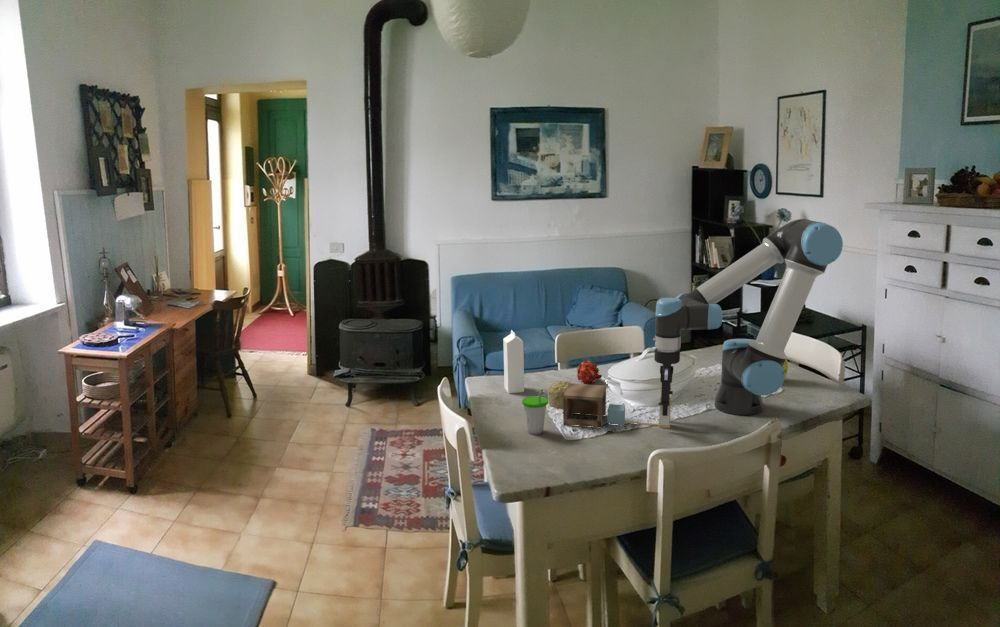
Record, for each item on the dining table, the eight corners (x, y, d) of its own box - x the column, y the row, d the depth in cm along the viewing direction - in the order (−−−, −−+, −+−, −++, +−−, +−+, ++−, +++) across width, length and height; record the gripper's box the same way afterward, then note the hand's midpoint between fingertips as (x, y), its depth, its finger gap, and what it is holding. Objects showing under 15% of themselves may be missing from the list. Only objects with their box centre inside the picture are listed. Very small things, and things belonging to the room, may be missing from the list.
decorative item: (562, 419, 234) (580, 397, 231) (539, 401, 234) (557, 379, 231) (565, 409, 243) (582, 388, 240) (543, 392, 243) (560, 371, 240)
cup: (522, 427, 219) (521, 381, 215) (547, 426, 218) (547, 381, 215) (522, 437, 211) (521, 390, 208) (548, 436, 211) (548, 389, 207)
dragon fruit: (585, 380, 266) (593, 394, 255) (568, 369, 263) (575, 384, 252) (599, 363, 264) (607, 377, 253) (582, 352, 261) (590, 366, 250)
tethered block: (670, 423, 219) (671, 393, 216) (669, 429, 214) (670, 398, 212) (609, 418, 224) (609, 389, 221) (607, 424, 219) (607, 394, 217)
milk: (520, 386, 256) (519, 328, 251) (524, 392, 250) (523, 332, 245) (504, 388, 254) (503, 330, 249) (507, 393, 249) (506, 334, 244)
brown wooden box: (605, 414, 227) (606, 385, 225) (601, 428, 216) (601, 397, 214) (569, 412, 230) (569, 383, 228) (563, 425, 219) (563, 395, 217)
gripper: (656, 339, 222) (654, 406, 227) (653, 358, 202) (651, 431, 208) (680, 340, 220) (678, 408, 225) (679, 359, 200) (676, 433, 206)
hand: (665, 419), depth 216 cm, fingers open, 8 cm apart
